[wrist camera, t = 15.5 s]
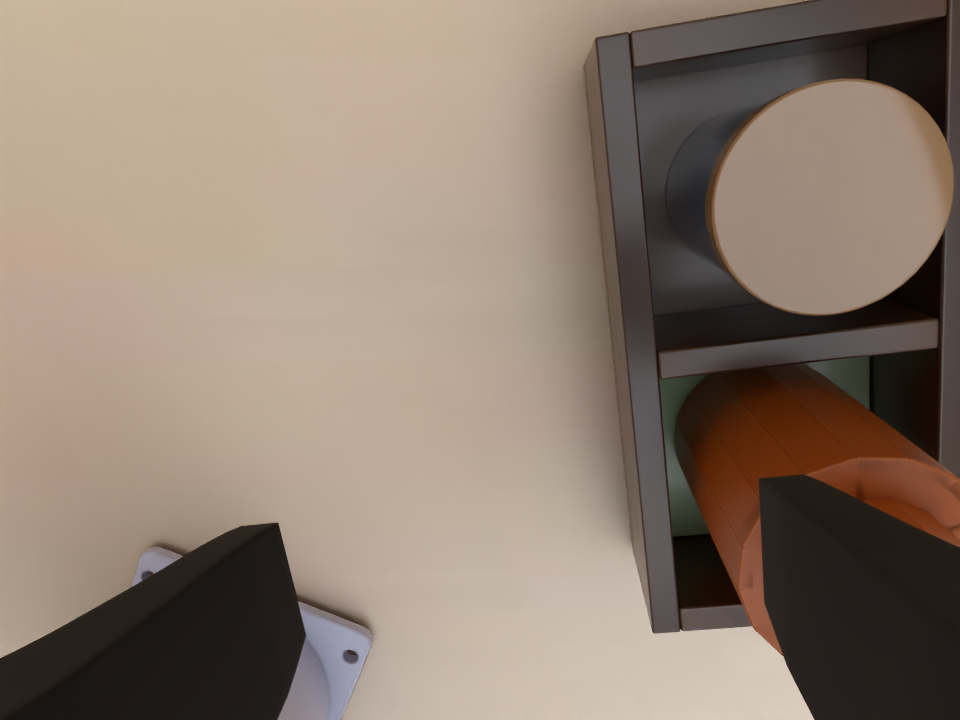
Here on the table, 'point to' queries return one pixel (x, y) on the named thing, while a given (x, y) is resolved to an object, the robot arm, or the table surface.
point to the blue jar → (815, 194)
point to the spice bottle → (797, 463)
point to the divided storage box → (723, 303)
